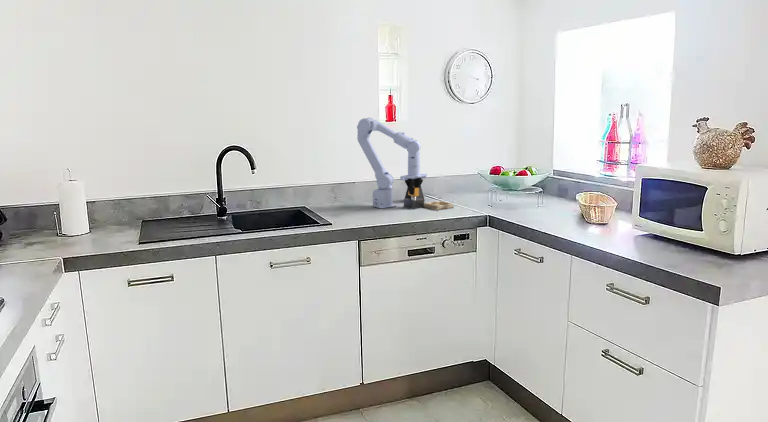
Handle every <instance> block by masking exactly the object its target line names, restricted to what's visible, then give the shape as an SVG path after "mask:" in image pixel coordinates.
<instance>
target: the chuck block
mask: <svg viewBox="0 0 768 422" xmlns="http://www.w3.org/2000/svg"><path fill="white" fill-rule="evenodd" d="M424 200H425V198H424V199H420V198H416V200H411V198H407V199H403V208H405V209H409V210H416V209H423V208H425V207H424V203H425V201H424Z"/></svg>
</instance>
